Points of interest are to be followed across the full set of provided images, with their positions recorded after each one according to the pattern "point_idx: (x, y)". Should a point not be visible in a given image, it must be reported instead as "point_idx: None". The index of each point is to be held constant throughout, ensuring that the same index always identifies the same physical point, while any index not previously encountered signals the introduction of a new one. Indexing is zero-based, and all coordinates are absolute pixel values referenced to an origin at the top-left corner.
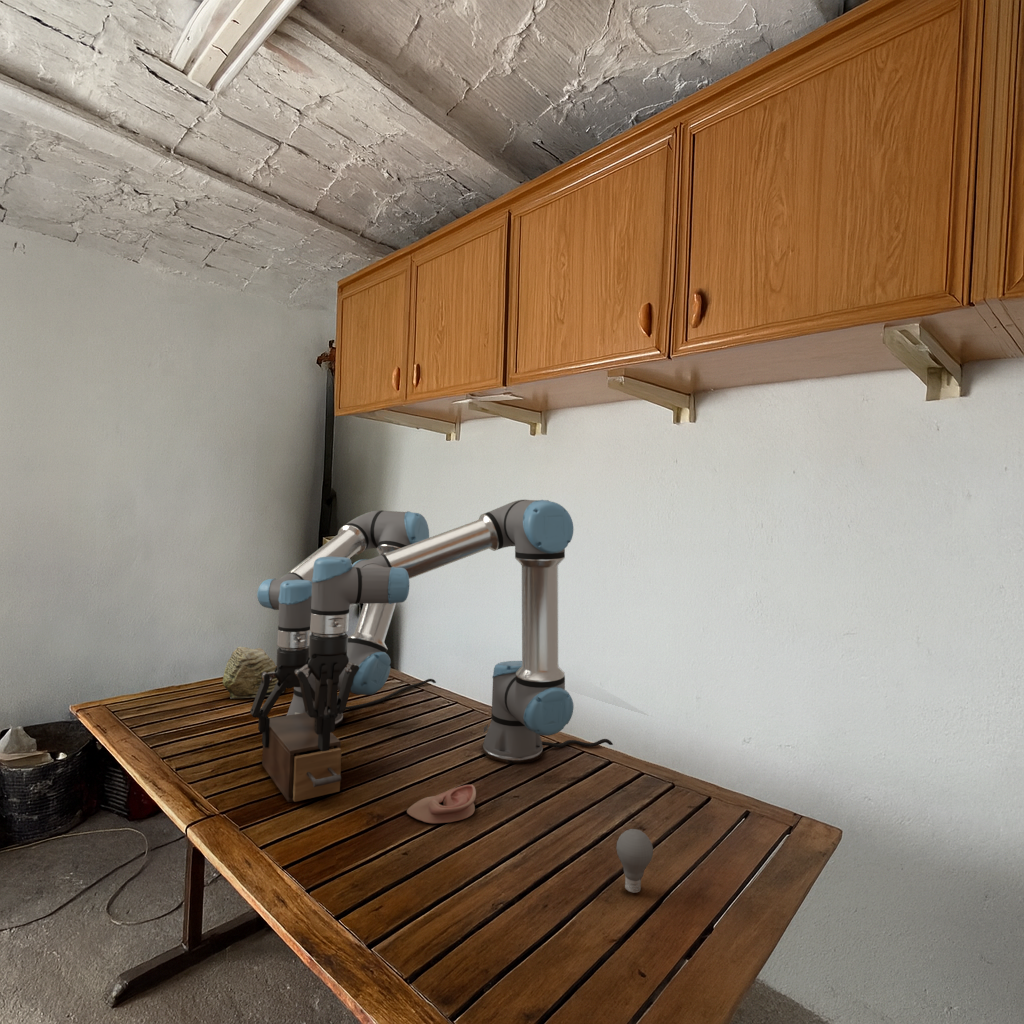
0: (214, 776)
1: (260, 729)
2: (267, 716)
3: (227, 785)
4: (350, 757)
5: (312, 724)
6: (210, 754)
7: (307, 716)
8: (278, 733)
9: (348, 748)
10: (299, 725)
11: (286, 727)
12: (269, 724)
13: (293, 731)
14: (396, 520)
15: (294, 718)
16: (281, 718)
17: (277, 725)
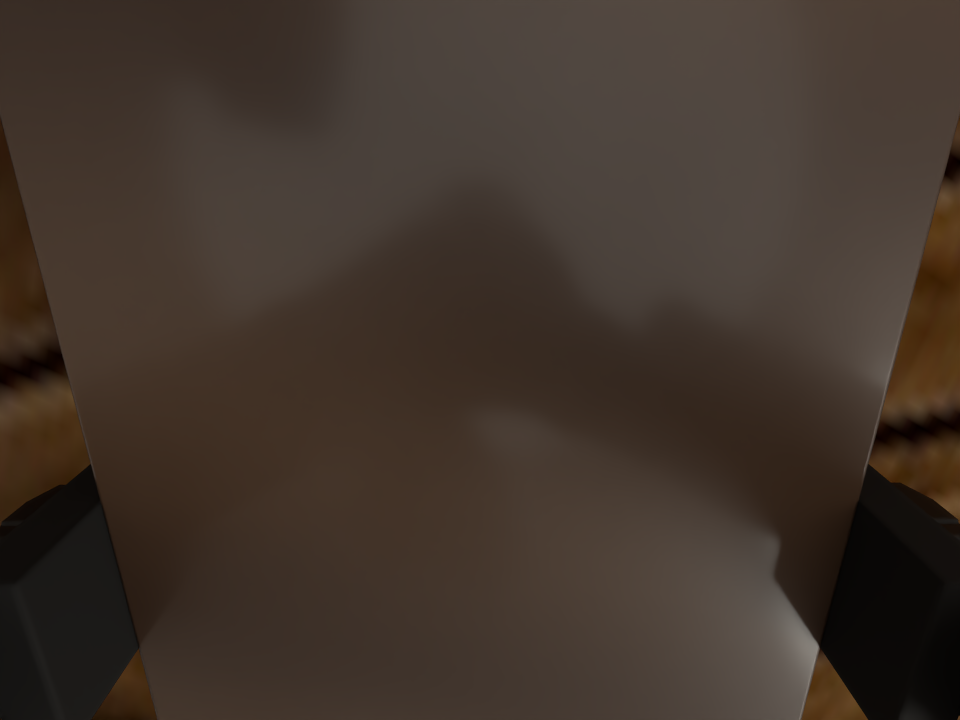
0: (946, 419)
1: (936, 510)
2: (912, 692)
3: (951, 240)
4: (26, 280)
5: (204, 239)
6: (823, 704)
7: (222, 615)
8: (926, 67)
9: (23, 438)
10: (436, 298)
11: (666, 313)
12: (831, 551)
13: (640, 26)
14: None
15: (421, 619)
16: (587, 686)
17: (753, 462)
